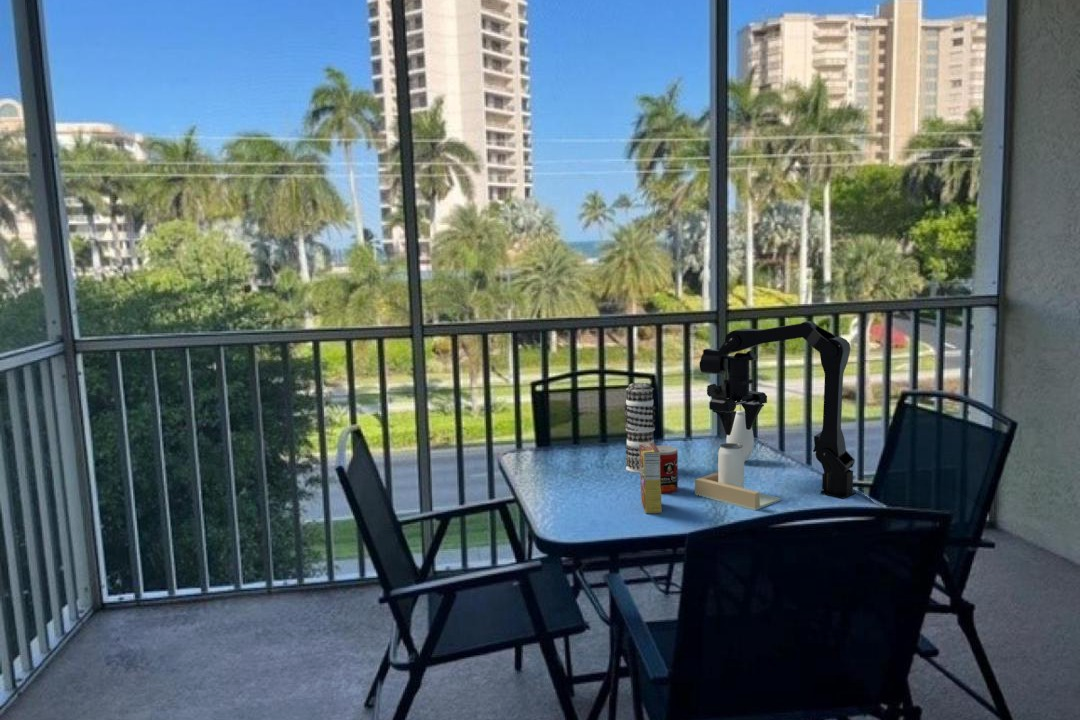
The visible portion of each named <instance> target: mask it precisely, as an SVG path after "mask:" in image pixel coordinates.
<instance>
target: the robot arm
mask: <svg viewBox="0 0 1080 720" xmlns="http://www.w3.org/2000/svg"><path fill="white" fill-rule="evenodd" d="M801 338H802V339H803V340H805V341H806V342H807V343H808V344H809V345H810V346H811V347H812V348H813V349H815V350H816V351H818V353H819V358H820V363H821V364H820V365H821V367H822V369H823V373H824V385H823V386H824V388H823V389H824V390H823V391H824V392H823V409H822V410H823V413H822V414H823V415H822V430H821V431H820V432H819V433H817V434H815V435H814V436H813V444H814V446H813V447H814V448H813V450H812V452H813V453H815V458H816V460H817V461H818V462H819V463H820V464H821V466H822V469H823V473H822V474H821V477H822V479H821V480H822V481H821V489H822V490H820V491H819V492H820V494H824V495H827V496H832V497H835V498H840V499H845V498H847V497H850V496H852V495H855V494H857V493H856V492H857V491H856V490H853V489H854V470H852V468H853V467H854V465H855V462H856V459H855V458H854V457H853V455H851V454H850V453H849V452H848V451H847V447H846V440H845V439H846V438H845V436H844V432H843V430H842V410H843V392H844V391H843V390H844V389H843V388H844V385H843V384H844V373H845V371H846V367H847V365H848V362H849V358H850V353H851V349H852V348H851V344H850V342H849V341H848V339H845V338H844V337H842V336H841V337H840V336H836V335H835V334H834V333H832V332H829V331H828V330H826V329H824V328H822V327H820V325H817V324H816V323H815V321H811V320H808V321H803V322H801V323H794V324H789V325H788V324H787V325H782V326H776V327H770V328H764V329H761V328H759V329H758V328H738V329H734V330H730V331H729V332H727V334H726V336H725V339H724V342H723V344H722V345H721V347H720V348H719V349H711V348H705V349H703V351H702V352H703V353H702V355H701V357H700V361H699V370H700V372H701V374H708V375H709V374H710V375H723V374H725V373H726V372H727V378H725V379H724V380H723V384H721V385H718V386H717V384H716V383H711V384H709V385H707V386H706V395H707V396H708V397H709V398H710V397H711V400H710V401H709V403H708V404H709V405H708V406H709V407H708V408H709V411H710V410H711V411H712V412H713V413H715V414H716V415H718V417H719V418H720V421H721V424H722V426H723V429H724V432H725V435H726V436H727V435H730V434H731V431H732V427H733V423H734V419H735V415H736V411H737V410H736V409H737V406H738V405H739V406H740V404H741V408H742V409H744V410H743V411H744V412H745V422H746V429H747V430H750V429H751V427H753V425H754V423H755V421H756V420H757V417H758V415H759V413H760V412H761V410H762V409H763V407H765V404H767V403H768V396H767V394H766V392H763V391H762V392H761V391H757V390H756V391H755V390H750V384H751V385H752V384H753V382H754V379H753V378H751V377H750V374H751V372H750V371H751V370H750V367H751V361H755V360H758V358H759V357H758V355H756V354H755V353H754V352H753V350H748V351H747V352H740V351H745V350H747V349H750V348H753V347H756V346H760V345H761V344H767V343H768V344H769V343H774V342H781V341H787V340H788V341H789V340H793V339H794V340H795V339H801ZM734 353H735V354H734ZM730 354H734V355H730Z"/></svg>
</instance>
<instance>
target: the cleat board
mask: <svg viewBox="0 0 1080 720" xmlns="http://www.w3.org/2000/svg"><path fill="white" fill-rule="evenodd" d="M694 495H695V496H698V495H699V496H698V497H701V496H702V498H705V497H706V498H707V499H709V498H710V500H713V501H717V502H720V503H725V504H729V505H732V506H737V507H740V508H744V509H748V510H752V511H758V510H760V509H762V508H765V507H768V506H770V505H772V504H775V503H776V504H777V503H778V502H781V501H782V500H781V499H782V498H781V497H777V496H773V495H769V494H764V493H761V492H760V491H756V490H754V489H753V490H752V489H750V488H749V489H748V488H745V487H744V488H740V487H736V486H732V485H728V484H724V483H720V482H718V471H717V472H714V473H711V474H707V475H705V476H702V477H698V478H695V479H694Z"/></svg>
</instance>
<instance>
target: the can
mask: <svg viewBox="0 0 1080 720" xmlns="http://www.w3.org/2000/svg"><path fill="white" fill-rule="evenodd" d="M719 447H720V448H719V449H718V455H717V456H718V457H717V458H718V461H717V462H718V467H717V469H718V470H717V472H718V482H720V483H724V484H728V485H732V486H736V487H740V488H745V461H744V450H743V448H742V447H743V446H742V445H740V444H735V443H727V442H726V443H722V444H720V445H719Z"/></svg>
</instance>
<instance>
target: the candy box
mask: <svg viewBox="0 0 1080 720" xmlns="http://www.w3.org/2000/svg"><path fill="white" fill-rule="evenodd" d="M656 446H657V445H656V443H655V442H654V443H645V444H639V449H640V473H639V474H640V476H639V477H640V500H641V504H642V506H643V509H644V513H645V514H646V513H648V514H661V513H662V493H661V466H660V451H659V450H658V448H657V447H656Z"/></svg>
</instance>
